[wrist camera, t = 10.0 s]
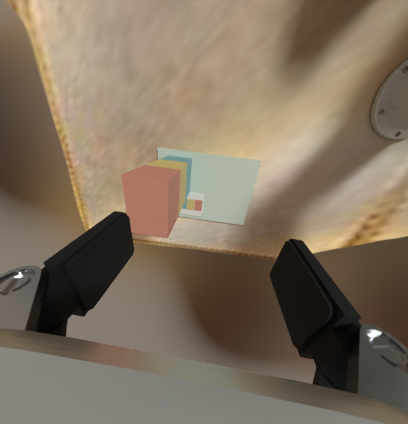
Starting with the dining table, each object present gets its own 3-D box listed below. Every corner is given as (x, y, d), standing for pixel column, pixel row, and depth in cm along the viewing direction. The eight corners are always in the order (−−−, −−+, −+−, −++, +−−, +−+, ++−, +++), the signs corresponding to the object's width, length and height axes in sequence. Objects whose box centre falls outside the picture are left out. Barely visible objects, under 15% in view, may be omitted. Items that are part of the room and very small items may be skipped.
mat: (158, 147, 31) (157, 147, 31) (260, 160, 31) (261, 161, 31) (159, 213, 39) (159, 213, 38) (243, 224, 38) (243, 225, 38)
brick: (145, 164, 21) (121, 174, 16) (180, 169, 21) (168, 181, 15) (148, 211, 24) (129, 232, 19) (178, 215, 24) (167, 238, 19)
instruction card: (179, 190, 35) (179, 191, 35) (204, 194, 35) (204, 194, 35) (178, 213, 38) (178, 213, 38) (201, 216, 38) (201, 216, 37)
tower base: (169, 155, 31) (145, 164, 21) (192, 158, 31) (179, 169, 21) (168, 188, 35) (148, 211, 24) (189, 191, 35) (178, 215, 24)
